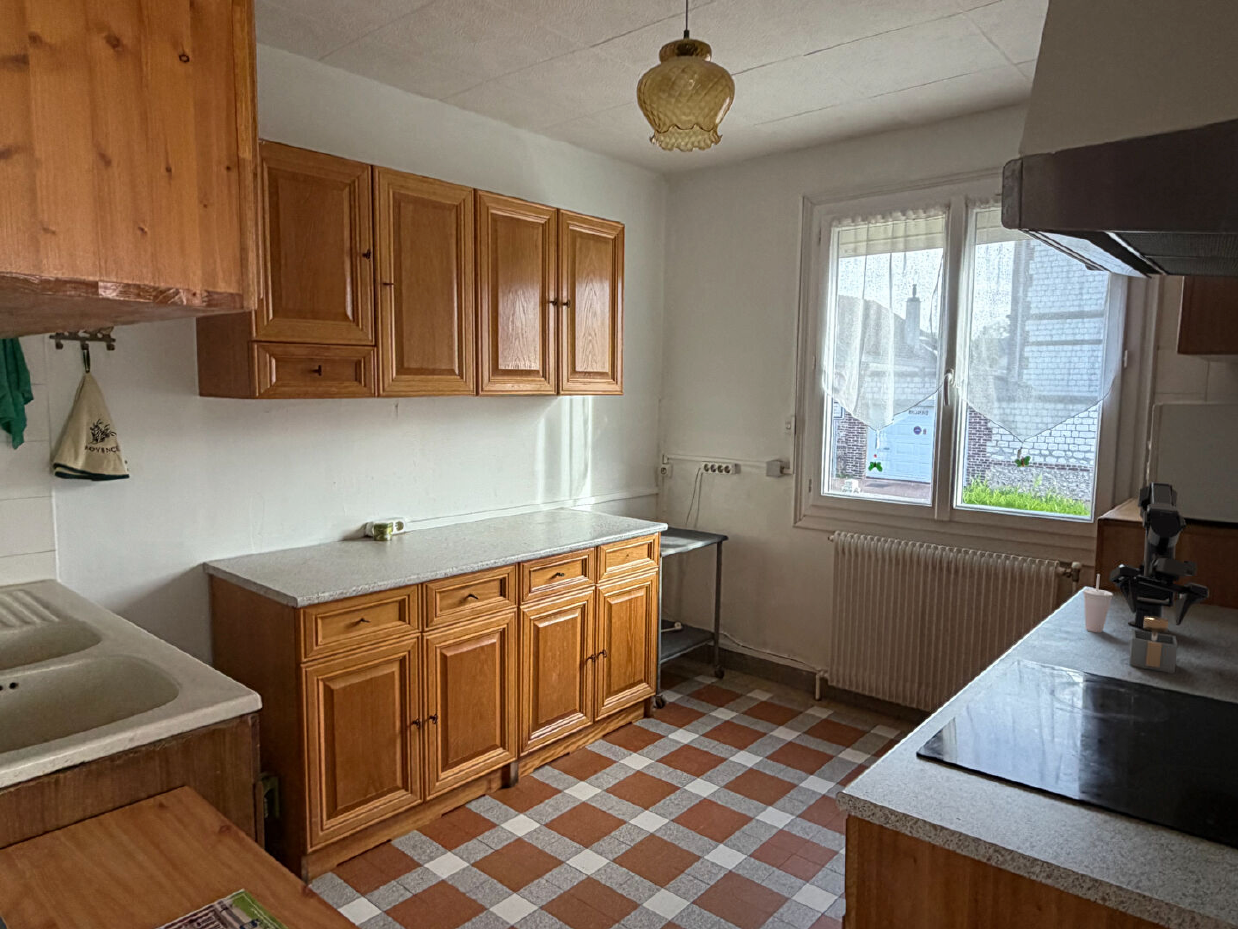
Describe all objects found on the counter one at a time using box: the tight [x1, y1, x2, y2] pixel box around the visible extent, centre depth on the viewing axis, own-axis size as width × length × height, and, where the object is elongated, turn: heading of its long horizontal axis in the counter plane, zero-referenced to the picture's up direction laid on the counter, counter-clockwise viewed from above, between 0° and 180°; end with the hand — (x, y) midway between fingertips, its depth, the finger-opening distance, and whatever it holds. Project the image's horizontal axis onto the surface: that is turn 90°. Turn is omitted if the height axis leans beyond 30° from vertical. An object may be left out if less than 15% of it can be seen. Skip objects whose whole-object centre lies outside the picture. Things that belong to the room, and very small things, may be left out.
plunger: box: [1142, 616, 1169, 642], centre depth 175 cm, size 6×6×9 cm
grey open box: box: [1128, 629, 1178, 674], centre depth 174 cm, size 9×8×6 cm
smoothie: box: [1082, 573, 1114, 633], centre depth 198 cm, size 6×6×14 cm
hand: (1156, 618), depth 182 cm, fingers open, 9 cm apart
